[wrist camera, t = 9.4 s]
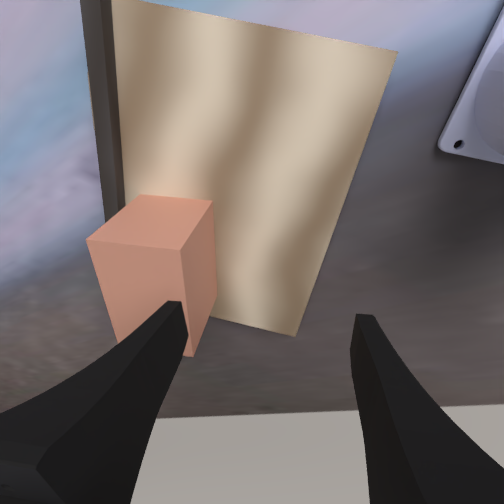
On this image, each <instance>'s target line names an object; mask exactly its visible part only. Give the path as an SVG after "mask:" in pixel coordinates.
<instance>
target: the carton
mask: <svg viewBox="0 0 504 504" xmlns="http://www.w3.org/2000/svg"><path fill="white" fill-rule="evenodd" d="M86 242H87V245H88V248H89V251H90V255H91V258H92V261H93V264H94V267H95V271H96V274H97V277H98V280H99V284H100V287H101V290H102V293H103V296H104V300H105V303H106V306H107V309H108V313H109V316H110V319H111V322H112V325H113V329H114V332H115V335H116V338H117V342H118V344H119V343H120V342H121V341H122V340H123V339H125V338H126V337H127V336H128V335H130V334H131V333H132V332H133V331H134V330H135V329H137V328H138V327H139V326H140V325H141V324H142V323H143V322H144V321H146V320H147V319H148V318H149V317H150V316H151V315H152V314H153V313H154V312H155V311H157V310H158V309H159V308H160V307H161V306H162V305H163V304H164V303H166V302H167V301H168V300H169V301H181V302H182V307H183V311H184V316H185V320H186V325H187V330H188V334H189V336H188V340H187V343H186V347H185V350H184V353H183V356H189V357H193V356H194V354H195V351H196V349H197V346H198V343H199V341H200V338H201V336H202V333H203V331H204V328H205V326H206V323H207V321H208V318H209V315H210V313H211V310H212V308H213V305H214V303H215V300H216V298H217V275H216V255H215V234H214V214H213V201H211V200H200V199H189V198H178V197H167V196H156V195H145V194H139V195H138V196H137V197H136V198H135V199H133V200H132V201H131V202H130V203H129V204H128V205H126V206H125V207H124V208H123V209H122V210H120V211H119V212H118V213H117V214H116V215H114V216H113V217H112V218H111V219H110V220H108V221H107V222H106V223H105V224H104V225H103V226H101V227H100V228H99V229H98V230H97V231H95V232H94V233H93V234H92V235H91V236H89V237H88V238H87V239H86Z"/></svg>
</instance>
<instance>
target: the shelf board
mask: <svg viewBox="0 0 504 504" xmlns="http://www.w3.org/2000/svg"><path fill="white" fill-rule="evenodd" d="M80 5H81V14H82V22H83V31H84V40H85V49H86V57H87V66H88V81H89V89H90V98H91V107H92V116H93V124H94V130H95V136H96V145H97V154H98V162H99V171H100V180H101V189H102V197H103V206H104V215H105V223H106V222H107V221H108V220H110V219H111V218H112V217H113V216H114V215H116V214H117V213H118V212H119V211H120V210H122V209H123V208H124V207H125V206H126V205H128V204H129V203H130V202H131V201H132V200H133V199H135V198H136V197H137V196H138V195H139V194H145V195H156V196H167V197H178V198H189V199H200V200H211V201H213V214H214V234H215V255H216V275H217V298H216V300H215V303H214V305H213V308H212V310H211V313H210V315H209V316H211V317H215V318H220V319H224V320H228V321H232V322H236V323H240V324H244V325H248V326H252V327H257V328H261V329H265V330H269V331H273V332H277V333H281V334H285V335H289V336H294V337H296V334H297V331H298V328H299V325H300V323H301V320H302V317H303V314H304V312H305V309H306V306H307V303H308V300H309V298H310V295H311V292H312V289H313V287H314V284H315V281H316V278H317V276H318V273H319V270H320V267H321V264H322V262H323V259H324V256H325V253H326V251H327V248H328V245H329V242H330V240H331V237H332V234H333V231H334V228H335V226H336V223H337V220H338V217H339V215H340V212H341V209H342V206H343V203H344V201H345V198H346V195H347V192H348V190H349V187H350V184H351V181H352V179H353V176H354V173H355V170H356V167H357V165H358V162H359V159H360V156H361V154H362V151H363V148H364V145H365V143H366V140H367V137H368V134H369V131H370V129H371V126H372V123H373V120H374V118H375V115H376V112H377V109H378V106H379V104H380V101H381V98H382V95H383V93H384V90H385V87H386V84H387V82H388V79H389V76H390V73H391V70H392V68H393V65H394V62H395V59H396V57H397V54H398V52H397V51H392V50H387V49H382V48H377V47H372V46H367V45H362V44H357V43H352V42H347V41H342V40H337V39H332V38H326V37H321V36H316V35H311V34H306V33H301V32H296V31H291V30H286V29H281V28H276V27H271V26H266V25H261V24H255V23H250V22H245V21H240V20H235V19H230V18H225V17H220V16H215V15H210V14H205V13H200V12H195V11H190V10H184V9H179V8H174V7H169V6H164V5H159V4H154V3H149V2H144V1H139V0H80Z"/></svg>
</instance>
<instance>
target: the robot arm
mask: <svg viewBox="0 0 504 504" xmlns="http://www.w3.org/2000/svg"><path fill="white" fill-rule="evenodd" d="M458 140H462V143H461V145H460V146H459V147H457V148H454V144H455V142H456V141H458ZM438 147H439V148H440V149H441V150H442V151H444V152H448V153H452V154H457V155H462V156H467V157H471V158H476V159H481V160H486V161H490V162H495V163H500V164H504V6H503V8H502V10H501V12H500V15H499V17H498V19H497V21H496V23H495V25H494V27H493V29H492V31H491V33H490V35H489V37H488V39H487V41H486V43H485V45H484V47H483V49H482V51H481V54H480V56H479V58H478V60H477V62H476V64H475V66H474V68H473V70H472V72H471V74H470V76H469V78H468V80H467V82H466V84H465V86H464V88H463V90H462V93H461V95H460V97H459V99H458V101H457V103H456V105H455V107H454V109H453V111H452V113H451V115H450V117H449V119H448V121H447V123H446V125H445V127H444V129H443V132H442V134H441V136H440V138H439V140H438ZM188 336H189V334H188V330H187V325H186V320H185V316H184V311H183V307H182V302H181V301H169V300H168V301H167V302H166V303H164V304H163V305H162V306H161V307H160V308H159V309H158V310H157V311H155V312H154V313H153V314H152V315H151V316H150V317H149V318H148V319H147V320H146V321H144V322H143V323H142V324H141V325H140V326H139V327H138V328H137V329H135V330H134V331H133V332H132V333H131V334H130V335H128V336H127V337H126V338H125V339H123V340H122V341H121V342H120V343H119V344H117V345H116V346H115V347H114V348H112V349H111V350H110V351H108V352H107V353H106V354H104V355H103V356H102V357H100V358H99V359H97V360H96V361H95V362H93V363H92V364H90V365H89V366H87V367H86V368H84V369H83V370H81V371H80V372H78V373H76V374H75V375H73V376H71V377H70V378H68V379H66V380H65V381H63V382H62V383H60V384H58V385H56V386H55V387H53V388H51V389H49V390H47V391H46V392H44V393H42V394H40V395H38V396H36V397H34V398H32V399H30V400H28V401H26V402H24V403H22V404H20V405H18V406H16V407H14V408H11V409H9V410H7V411H5V412H3V413H0V504H130V502H131V499H132V495H133V491H134V488H135V484H136V481H137V477H138V474H139V470H140V467H141V463H142V460H143V457H144V454H145V450H146V447H147V444H148V441H149V438H150V435H151V432H152V429H153V426H154V423H155V420H156V417H157V414H158V412H159V409H160V407H161V404H162V402H163V400H164V398H165V395H166V393H167V391H168V389H169V386H170V384H171V382H172V380H173V377H174V375H175V373H176V371H177V368H178V366H179V364H180V361H181V359H182V356H183V353H184V350H185V347H186V343H187V340H188ZM350 357H351V370H352V378H353V383H354V389H355V394H356V399H357V405H358V410H359V415H360V420H361V425H362V430H363V437H364V444H365V453H366V464H367V475H368V486H369V497H370V504H504V468H503V467H501V466H500V465H499V464H498V463H497V462H496V461H495V460H493V459H492V458H491V457H490V456H489V455H488V454H487V453H486V452H484V451H483V450H482V449H481V448H480V447H479V446H478V445H477V444H476V443H475V442H474V441H473V440H472V439H471V438H470V437H469V436H468V435H467V434H466V433H465V432H464V431H463V430H461V429H460V428H459V427H458V426H457V425H456V424H455V423H454V422H453V421H452V420H451V418H450V417H449V416H448V415H447V414H446V413H445V412H444V411H443V410H442V409H441V408H440V407H439V406H438V404H437V403H436V402H435V401H434V400H433V399H432V398H431V397H430V395H429V394H428V393H427V392H426V391H425V390H424V388H423V387H422V386H421V385H420V383H419V382H418V381H417V380H416V378H415V377H414V376H413V374H412V373H411V372H410V371H409V369H408V368H407V366H406V365H405V364H404V362H403V361H402V359H401V358H400V357H399V355H398V354H397V352H396V351H395V349H394V348H393V346H392V345H391V343H390V342H389V340H388V339H387V337H386V336H385V334H384V332H383V331H382V329H381V327H380V326H379V324H378V322H377V320H376V318H375V317H374V316H373V315H367V314H356V318H355V323H354V329H353V335H352V341H351V347H350Z"/></svg>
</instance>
